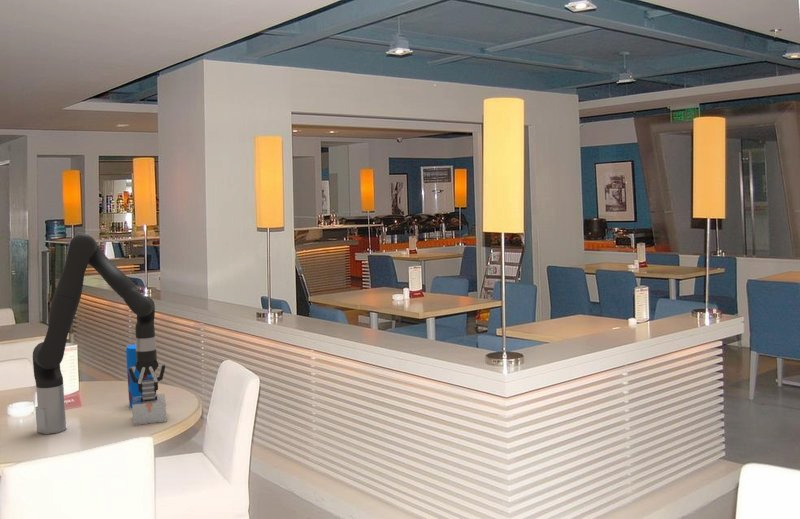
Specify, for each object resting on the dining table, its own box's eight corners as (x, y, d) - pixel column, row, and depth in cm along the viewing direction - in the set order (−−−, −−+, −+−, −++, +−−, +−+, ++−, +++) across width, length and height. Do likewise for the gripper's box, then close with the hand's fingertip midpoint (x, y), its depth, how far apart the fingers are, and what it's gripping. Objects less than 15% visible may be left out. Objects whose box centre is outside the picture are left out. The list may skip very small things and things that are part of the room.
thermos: (161, 402, 329) (157, 343, 327) (150, 409, 319) (147, 348, 316) (136, 401, 330) (132, 343, 328) (124, 409, 320) (121, 348, 317)
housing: (166, 422, 300) (165, 401, 300) (133, 425, 297) (132, 405, 296) (165, 413, 312) (164, 393, 312) (134, 416, 309) (132, 396, 308)
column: (156, 420, 303) (153, 379, 302) (143, 421, 302) (141, 380, 301) (156, 416, 308) (153, 376, 306) (144, 418, 306) (141, 377, 305)
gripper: (165, 345, 308) (167, 387, 310) (126, 348, 304) (129, 391, 305) (165, 348, 301) (167, 392, 302) (126, 352, 297) (128, 396, 298)
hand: (148, 391), depth 304 cm, fingers closed on column, 4 cm apart
